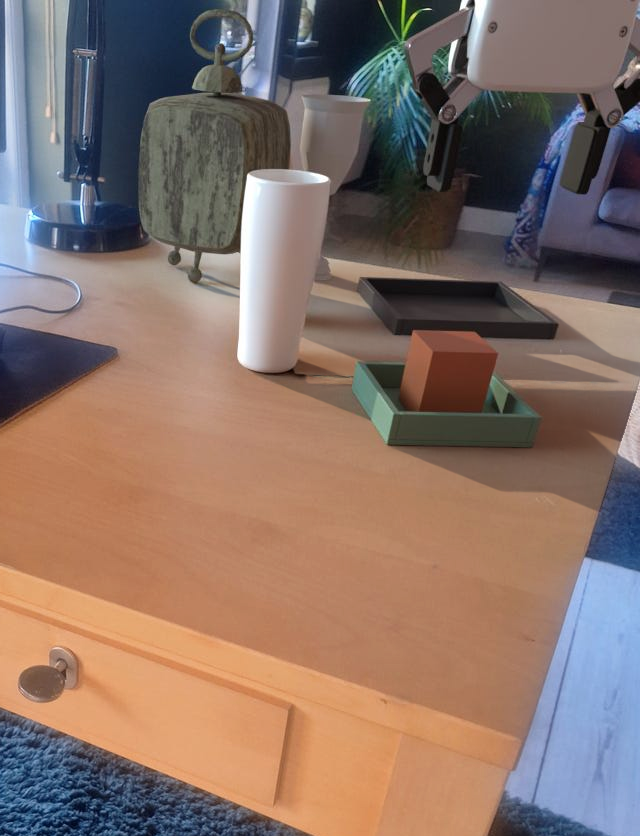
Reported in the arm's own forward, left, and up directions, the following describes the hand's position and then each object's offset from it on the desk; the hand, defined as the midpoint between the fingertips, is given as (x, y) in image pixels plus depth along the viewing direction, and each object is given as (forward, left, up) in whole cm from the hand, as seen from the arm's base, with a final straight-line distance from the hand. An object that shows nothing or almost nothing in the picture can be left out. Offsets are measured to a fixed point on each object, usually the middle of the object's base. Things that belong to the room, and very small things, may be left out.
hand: (505, 189), depth 61 cm
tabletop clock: (+16, -38, -17) cm, 45 cm away
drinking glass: (+13, -10, -16) cm, 23 cm away
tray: (+1, +1, -16) cm, 16 cm away
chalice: (+3, -40, -16) cm, 44 cm away
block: (+1, +1, -16) cm, 16 cm away
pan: (-9, -26, -16) cm, 32 cm away
